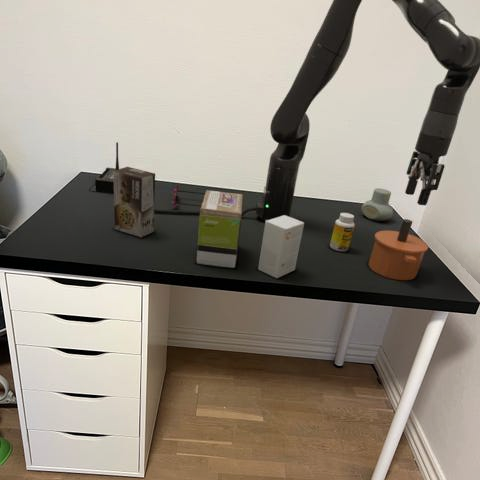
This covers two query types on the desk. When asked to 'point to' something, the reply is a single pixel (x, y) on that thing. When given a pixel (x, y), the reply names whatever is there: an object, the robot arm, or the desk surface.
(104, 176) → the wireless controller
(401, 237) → the orange pot lid
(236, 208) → the tea box
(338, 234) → the supplement bottle
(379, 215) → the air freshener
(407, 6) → the robot arm
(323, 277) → the desk surface
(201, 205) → the glasses
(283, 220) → the small box
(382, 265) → the orange pot
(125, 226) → the coffee box
